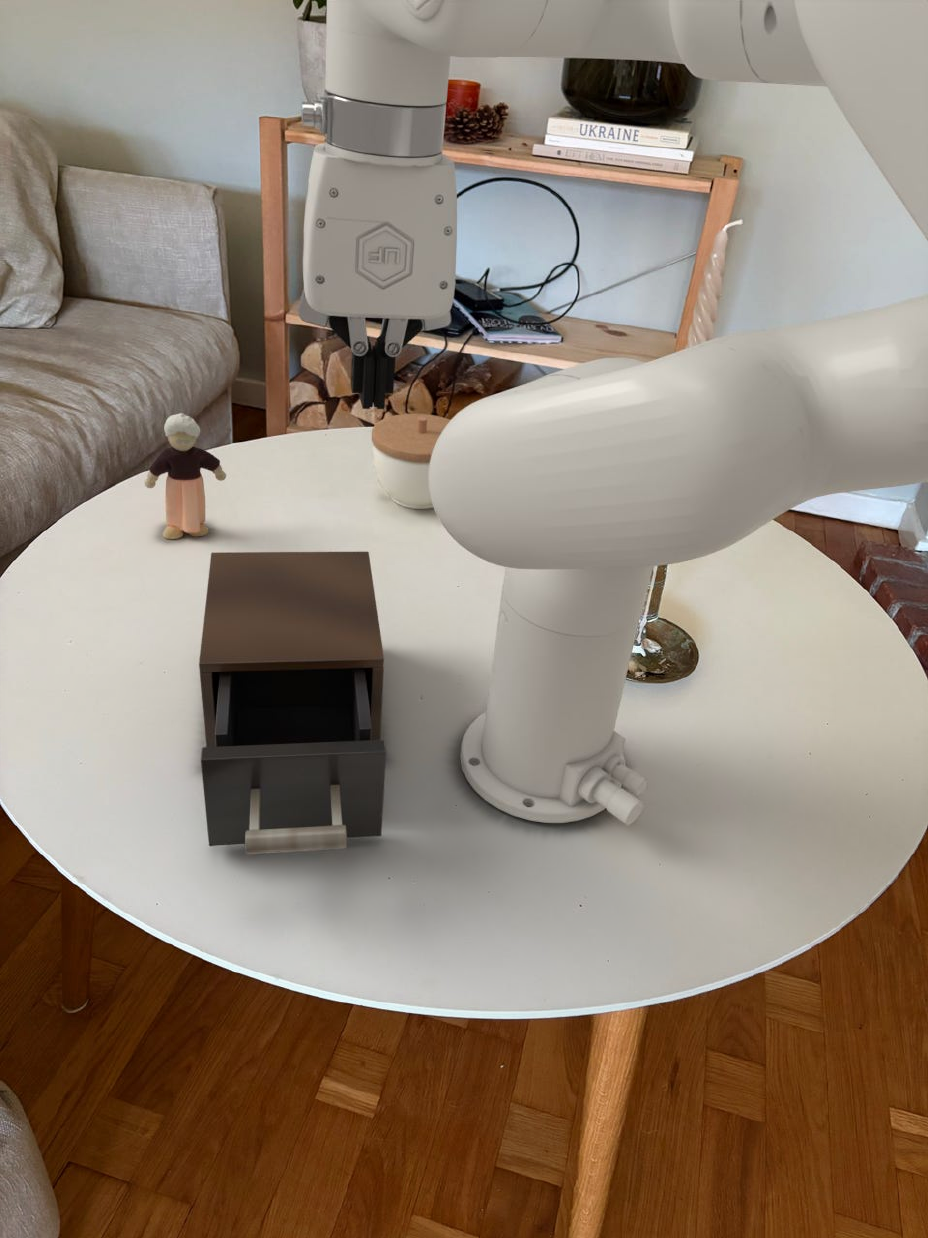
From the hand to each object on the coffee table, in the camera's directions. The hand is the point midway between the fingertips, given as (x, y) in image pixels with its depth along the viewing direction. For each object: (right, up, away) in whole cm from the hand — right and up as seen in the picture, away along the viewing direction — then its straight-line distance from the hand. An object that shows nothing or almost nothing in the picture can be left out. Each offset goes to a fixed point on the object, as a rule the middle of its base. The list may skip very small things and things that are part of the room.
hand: (371, 401), depth 71 cm
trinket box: (+2, -3, +37) cm, 37 cm away
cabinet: (-7, -23, +6) cm, 25 cm away
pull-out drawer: (-5, -29, -4) cm, 29 cm away
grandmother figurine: (-21, -7, +27) cm, 35 cm away
